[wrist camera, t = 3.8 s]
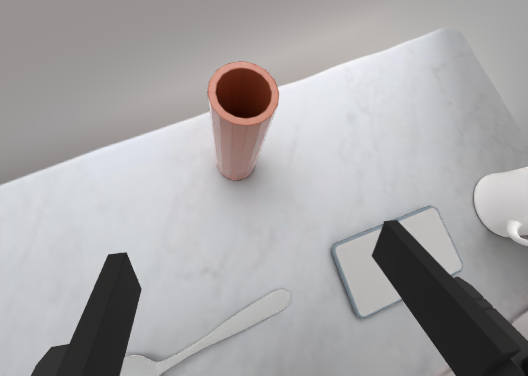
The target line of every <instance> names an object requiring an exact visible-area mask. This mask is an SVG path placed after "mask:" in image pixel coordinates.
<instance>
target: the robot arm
mask: <svg viewBox="0 0 528 376" xmlns="http://www.w3.org/2000/svg"><path fill="white" fill-rule="evenodd" d="M372 257H373V259H374V260H375V262H376V263H377V264H378V266H379V267H380V269H381V270H382V272H383V273H384V274H385V276H386V277H387V279H388V280H389V281H390V283H391V284H392V286H393V287H394V289H395V290H396V291H397V293H398V294H399V296H400V297H401V298H402V300H403V301H404V303H405V304H406V306H407V307H408V308H409V310H410V311H411V313H412V314H413V315H414V317H415V318H416V320H417V321H418V322H419V324H420V325H421V327H422V328H423V330H424V331H425V332H426V334H427V335H428V337H429V338H430V339H431V341H432V342H433V344H434V345H435V347H436V348H437V349H438V351H439V352H440V354H441V355H442V356H443V358H444V359H445V361H446V362H447V364H448V365H449V366H450V368H451V369H452V371H453V372H454V373H455V375H456V376H528V341H527V340H526V339H525V338H524V337H523V336H522V335H521V334H520V333H519V332H518V331H517V330H516V329H515V328H514V327H513V326H512V325H511V324H510V323H509V322H508V321H507V320H506V319H505V318H504V317H503V316H502V315H501V314H500V313H499V312H498V311H497V310H496V309H495V308H493V307H492V305H491V304H490V303H489V302H488V301H487V300H486V299H484V298H483V296H482V295H481V294H480V293H479V292H478V291H477V290H476V289H475V288H474V287H473V286H472V285H470V284H469V283H467V282H466V281H464V280H463V279H461V278H460V277H455V278H453V277H452V276H451V275H450V274H449V273H448V272H447V271H446V270H445V269H444V268H443V267H442V266H441V265H440V264H439V263H438V262H437V261H436V260H435V259H434V258H433V257H432V256H431V254H430V253H429V252H428V251H427V250H426V249H425V248H424V247H423V246H422V245H421V244H420V243H419V242H418V241H417V240H416V239H415V238H414V237H413V236H412V235H411V234H410V233H409V232H408V231H407V230H406V229H405V228H404V227H403V226H402V225H401V223H400V222H399V221H398V220H391V221H384V224H383V226H382V229H381V232H380V234H379V237H378V240H377V243H376V245H375V248H374V251H373V253H372ZM140 293H141V287H140V284H139V282H138V279H137V277H136V275H135V272H134V270H133V267H132V265H131V262H130V260H129V258H128V255H127V253H126V252H125V253H117V254H109V255H108V256H107V259H106V261H105V263H104V265H103V268H102V270H101V272H100V275H99V277H98V279H97V282H96V284H95V286H94V289H93V291H92V293H91V295H90V298H89V300H88V302H87V305H86V307H85V309H84V312H83V314H82V316H81V319H80V321H79V323H78V325H77V328H76V330H75V332H74V335H73V337H72V339H71V342H70V344H67V345H61V346H55V347H51V348H50V349H49V351H48V352H47V353H46V354H45V355H44V357H43V358H42V359H41V360H40V361H39V362H38V364H37V365H36V367H35V369H34V371H33V373H32V375H31V376H120V373H121V369H122V365H123V361H124V357H125V353H126V349H127V345H128V341H129V337H130V333H131V329H132V325H133V321H134V317H135V313H136V309H137V305H138V301H139V297H140Z"/></svg>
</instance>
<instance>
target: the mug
mask: <svg viewBox="0 0 528 376" xmlns="http://www.w3.org/2000/svg"><path fill="white" fill-rule="evenodd" d="M474 205H475V209H476V212H477V214H478V216H479V218H480V219H481V221H482V222H483V224H484V225H485V226H486V227H487V228H488V229H490V230H491V231H492V232H494V233H495V234H498V235H500V236H503V237H511V238H512V239H513V240H514V241H516V242H517V243H519V244H522V245H525V246H528V240H526V239H523V238H521V237H520V236H521V235H528V167H525V168H521V169H516V170H512V171H508V172H503V173H493V174H489V175H486V176H484V177H483V178H482V179H481V180H480V181H479V182H478V183H477V185H476V188H475V191H474Z"/></svg>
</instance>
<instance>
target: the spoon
mask: <svg viewBox="0 0 528 376" xmlns="http://www.w3.org/2000/svg"><path fill="white" fill-rule="evenodd" d="M290 301H291V292H290V291H288V290H286V289H278V290H275V291H273V292H271V293H269V294H267V295H266V296H264V297H263V298H261V299H259V300H258V301H256V302H254V303H253V304H251V305H249V306H248V307H246V308H245V309H243V310H241V311H240V312H238V313H237V314H235V315H234V316H233V317H231V318H230V319H228V320H227V321H226V322H224V323H223V324H221V325H220V326H219V327H217V328H216V329H215V330H213V331H212V332H210V333H209V334H208V335H206V336H205V337H204V338H202V339H201V340H199V341H197V342H196V343H194V344H193V345H191V346H189V347H188V348H186V349H185V350H183V351H181V352H179V353H178V354H176V355H174V356H172V357H170V358H168V359H166V360H163V361H160V362H154V361H152V360H150V359H148V358H146V357H144V356H141V355H130V356H127V357H124V361H123V365H122V369H121V373H120V376H160V375H161V374H162V373H163V372H165V371H166V370H168V369H169V368H171V367H172V366H174V365H175V364H177V363H178V362H180V361H182V360H183V359H185V358H187V357H188V356H190V355H192V354H194V353H196V352H198V351H200V350H202V349H203V348H205V347H207V346H209V345H212V344H214V343H216V342H218V341H221V340H223V339H225V338H227V337H229V336H232V335H234V334H236V333H238V332H240V331H242V330H244V329H246V328H248V327H250V326H252V325H254V324H256V323H258V322H260V321H262V320H264V319H266V318H268V317H270V316H272V315H274V314H276V313H278V312H280V311H282V310H283V309H284V308H286V307H287V306H288V305H289V303H290Z"/></svg>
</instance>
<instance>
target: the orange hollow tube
mask: <svg viewBox="0 0 528 376" xmlns="http://www.w3.org/2000/svg"><path fill="white" fill-rule="evenodd" d="M278 100H279V91H278V88H277V85H276V82H275V80H274V79H273V78H272V76H271V75H270V74H269V73H268V72H267V71H266V70H264V69H263V68H261V67H259V66H258V65H256V64H253V63H247V62H234V63H228V64H226V65H225V66H223V67H221V68H219V69H218V70H217V71H216V72H215V73H214V75H213V76H212V78H211V79H210V81H209V86H208V101H209V109H210V117H211V125H212V132H213V140H214V148H215V156H216V163H217V167H218V169H219V171H220V173H221V174H222V175H223V176H224V177H226V178H228V179H230V180H242V179H244V178H246V177H248V176H249V175H250V174H251V173H252V171H253V169H254V167H255V164H256V162H257V159H258V157H259V154H260V151H261V149H262V146H263V143H264V141H265V138H266V135H267V133H268V130H269V127H270V125H271V122H272V119H273V117H274V114H275V111H276V109H277V106H278Z"/></svg>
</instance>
